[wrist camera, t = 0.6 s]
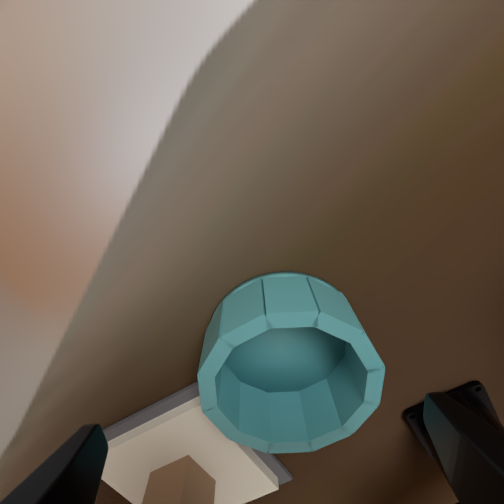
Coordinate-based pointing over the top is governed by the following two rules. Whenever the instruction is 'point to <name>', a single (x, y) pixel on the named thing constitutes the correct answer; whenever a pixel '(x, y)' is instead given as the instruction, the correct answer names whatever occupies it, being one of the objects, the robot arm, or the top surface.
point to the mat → (173, 402)
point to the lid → (185, 462)
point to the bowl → (287, 365)
